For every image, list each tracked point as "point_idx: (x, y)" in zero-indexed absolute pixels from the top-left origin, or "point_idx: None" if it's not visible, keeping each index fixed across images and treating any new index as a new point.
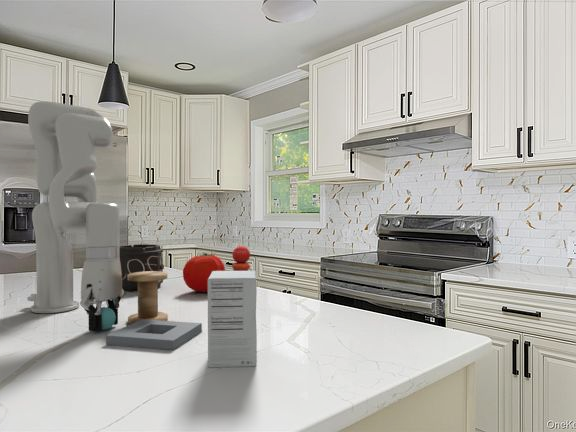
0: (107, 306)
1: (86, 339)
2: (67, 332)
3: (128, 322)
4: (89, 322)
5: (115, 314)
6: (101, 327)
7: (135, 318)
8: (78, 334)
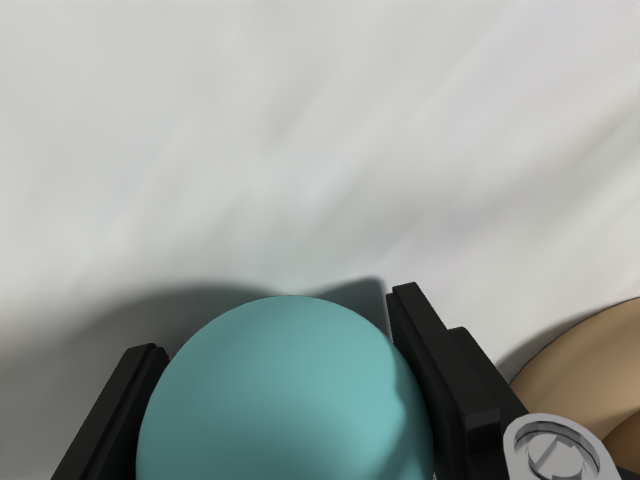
0: (506, 453)
1: (26, 444)
2: (4, 106)
3: (527, 377)
4: (96, 419)
5: (436, 472)
6: None
7: None
8: (53, 280)
